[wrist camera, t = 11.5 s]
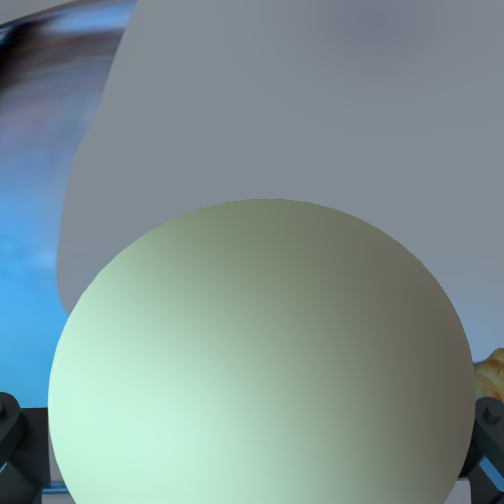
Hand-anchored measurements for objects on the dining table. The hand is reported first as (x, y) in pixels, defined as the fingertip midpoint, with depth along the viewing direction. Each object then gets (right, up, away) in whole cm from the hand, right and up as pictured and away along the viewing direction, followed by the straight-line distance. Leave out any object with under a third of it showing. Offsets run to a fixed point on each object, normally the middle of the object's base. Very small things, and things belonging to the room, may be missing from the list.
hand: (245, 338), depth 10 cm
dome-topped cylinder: (0, -3, +4) cm, 5 cm away
